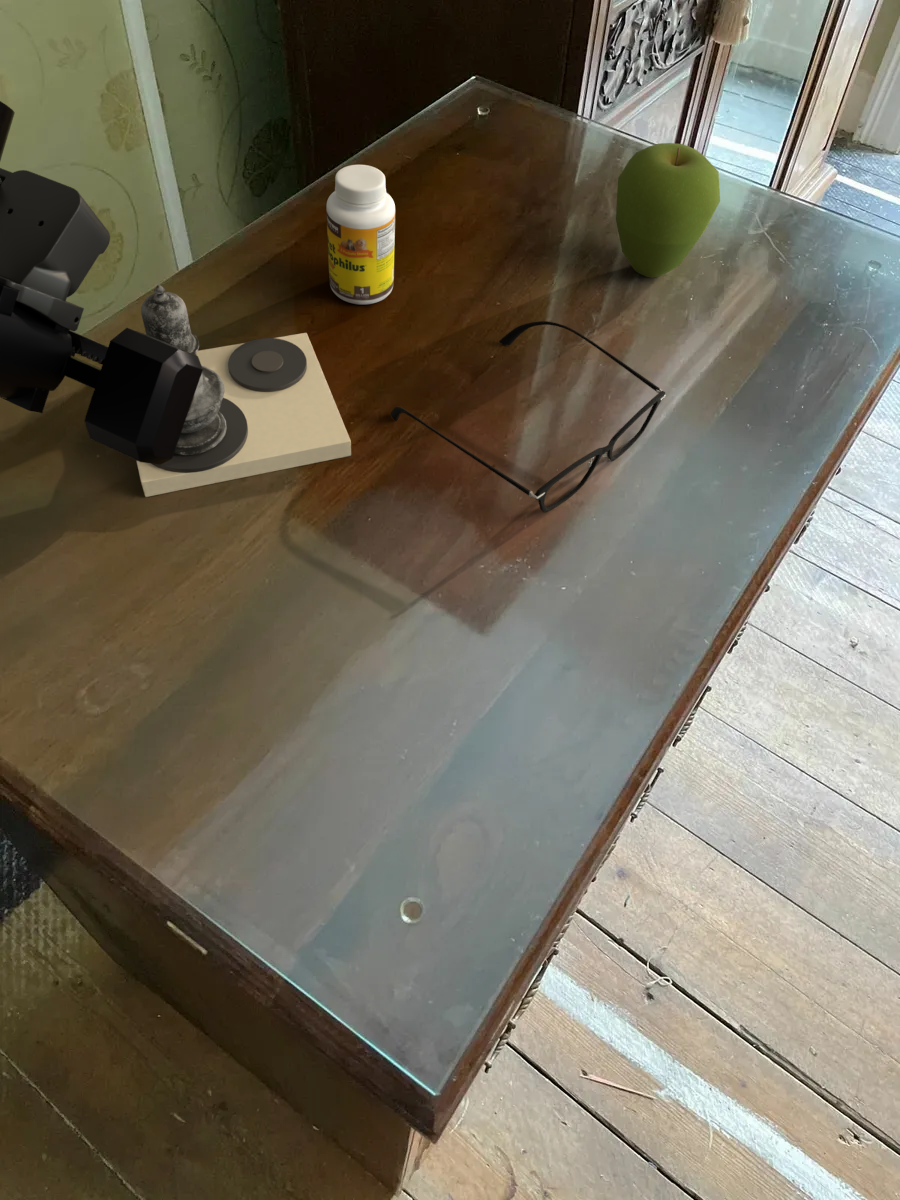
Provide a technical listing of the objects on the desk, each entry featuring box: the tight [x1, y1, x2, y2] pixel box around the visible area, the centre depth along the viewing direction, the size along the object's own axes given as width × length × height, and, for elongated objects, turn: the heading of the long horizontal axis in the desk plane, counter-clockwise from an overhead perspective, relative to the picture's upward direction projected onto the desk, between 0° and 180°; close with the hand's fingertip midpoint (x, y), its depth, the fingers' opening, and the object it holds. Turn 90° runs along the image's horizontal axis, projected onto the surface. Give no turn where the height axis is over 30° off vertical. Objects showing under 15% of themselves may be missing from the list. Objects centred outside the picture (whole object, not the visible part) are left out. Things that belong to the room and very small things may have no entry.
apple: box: [615, 142, 721, 279], centre depth 83 cm, size 9×8×12 cm
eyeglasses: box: [390, 320, 667, 513], centre depth 72 cm, size 16×16×4 cm
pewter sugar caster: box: [140, 284, 227, 455], centre depth 64 cm, size 6×6×12 cm
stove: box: [135, 332, 352, 498], centre depth 72 cm, size 15×13×2 cm
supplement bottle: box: [325, 164, 396, 306], centre depth 79 cm, size 6×6×10 cm
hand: (131, 376), depth 60 cm, fingers open, 9 cm apart
